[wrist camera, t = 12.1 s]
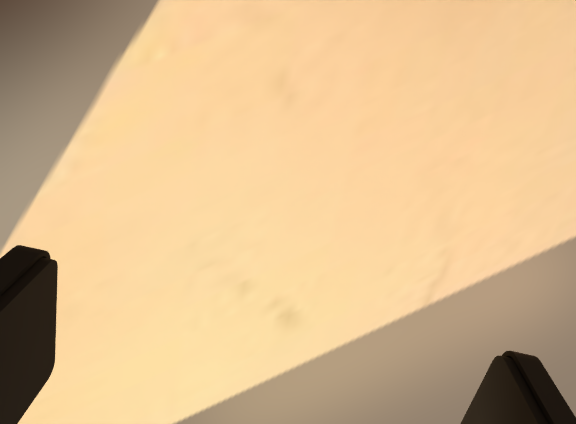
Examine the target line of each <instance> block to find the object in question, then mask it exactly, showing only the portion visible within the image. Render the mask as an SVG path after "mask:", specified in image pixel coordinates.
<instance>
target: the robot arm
mask: <svg viewBox="0 0 576 424" xmlns="http://www.w3.org/2000/svg"><path fill="white" fill-rule="evenodd" d="M57 268H58V267H57V262H56V261H55V260H52V259H50V255H49V253H48V252H47V251H44V250H40V249H35V248H30V247H26V246H21V245H18V246H15V247H14V248H12V249H11V250H10V251H9V252H8V253H6V254H5V255H4V256H3V257H2V258H0V424H17V423H18V422H19V420H20V419H21V418H22V416H23V415H24V413H25V412H26V410H27V409H28V407H29V406H30V405H31V403H32V402H33V400H34V399H35V397H36V396H37V395H38V393H39V392H40V390H41V389H42V387H43V386H44V384H45V383H46V382H47V380H48V379H49V377H50V375H51V373H52V370H53V367H54V363H55V338H56V303H57ZM461 424H576V417H575V416H574V414H573V413H572V411H571V409H570V408H569V406H568V405H567V403H566V402H565V400H564V398H563V397H562V395H561V393H560V392H559V390H558V389H557V387H556V385H555V384H554V382H553V381H552V379H551V377H550V376H549V374H548V373H547V371H546V369H545V368H544V367H543V365H542V363H541V361H540V360H539V359H538V358H537V357H535V356H531V355H527V354H523V353H518V352H513V351H506V352H505V353H504V354H503V355H502V356H496V357H495V358H494V360H493V361H492V363H491V365H490V367H489V369H488V371H487V373H486V375H485V377H484V379H483V381H482V383H481V385H480V387H479V389H478V391H477V393H476V395H475V397H474V398H473V401H472V402H471V405H470V406H469V408H468V410H467V412H466V414H465V416H464V418H463V420H462V422H461Z"/></svg>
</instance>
